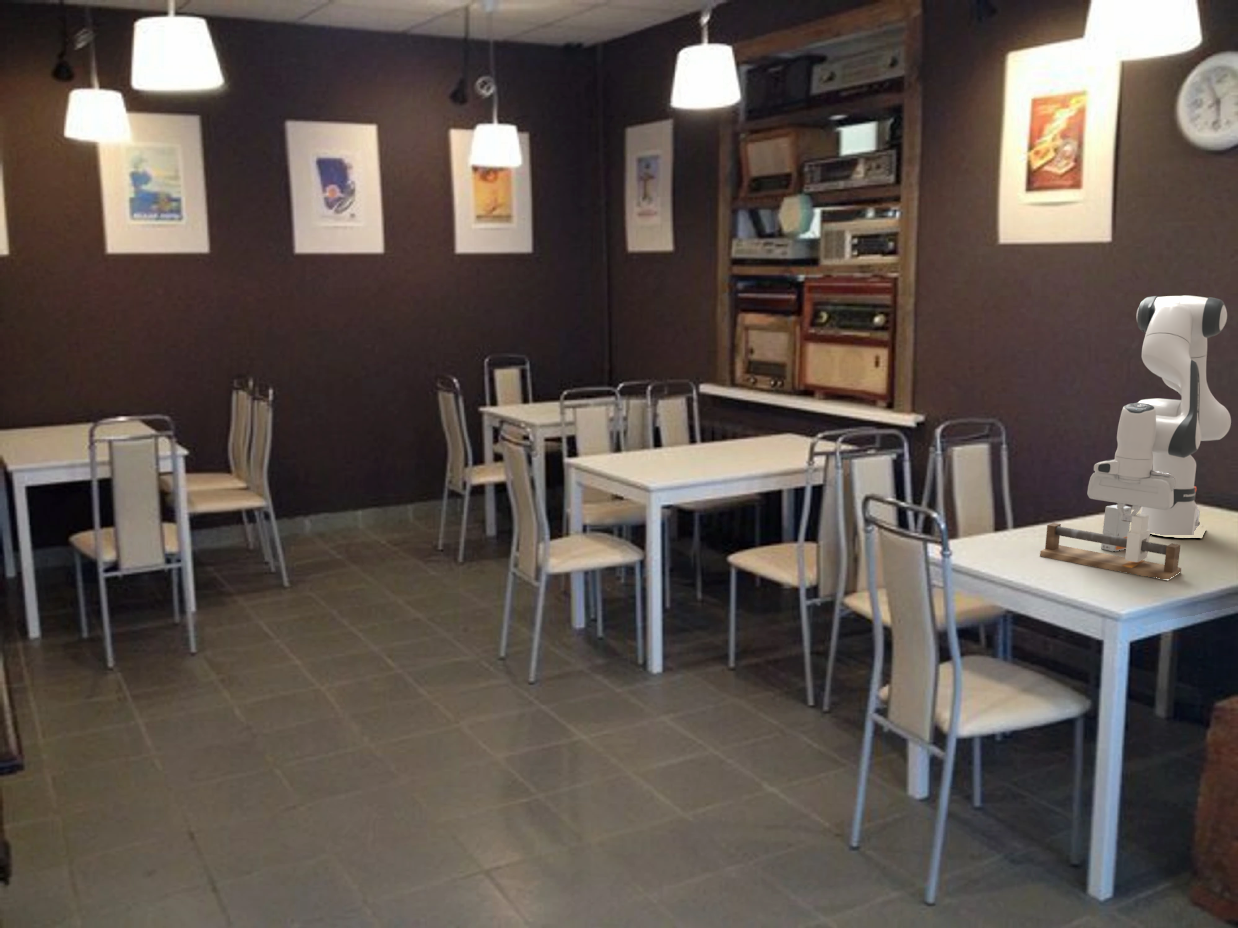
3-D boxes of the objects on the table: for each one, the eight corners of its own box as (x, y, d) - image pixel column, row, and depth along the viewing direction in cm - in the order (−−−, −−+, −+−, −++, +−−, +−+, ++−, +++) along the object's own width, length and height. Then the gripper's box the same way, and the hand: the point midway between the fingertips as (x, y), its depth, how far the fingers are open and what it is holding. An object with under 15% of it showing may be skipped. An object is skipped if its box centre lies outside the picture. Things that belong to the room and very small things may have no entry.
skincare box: (1114, 552, 304) (1119, 509, 302) (1100, 548, 307) (1104, 506, 305) (1127, 549, 307) (1132, 506, 305) (1113, 546, 311) (1118, 503, 308)
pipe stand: (1040, 556, 298) (1042, 526, 297) (1055, 549, 305) (1057, 521, 304) (1167, 581, 277) (1171, 549, 275) (1180, 573, 284) (1184, 542, 282)
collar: (1124, 560, 284) (1129, 516, 282) (1134, 555, 290) (1139, 512, 288) (1137, 562, 282) (1141, 518, 280) (1147, 557, 288) (1151, 514, 286)
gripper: (1180, 472, 279) (1174, 526, 282) (1096, 461, 293) (1091, 513, 295) (1172, 475, 275) (1166, 530, 277) (1087, 464, 288) (1082, 516, 291)
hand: (1127, 521), depth 286 cm, fingers closed
